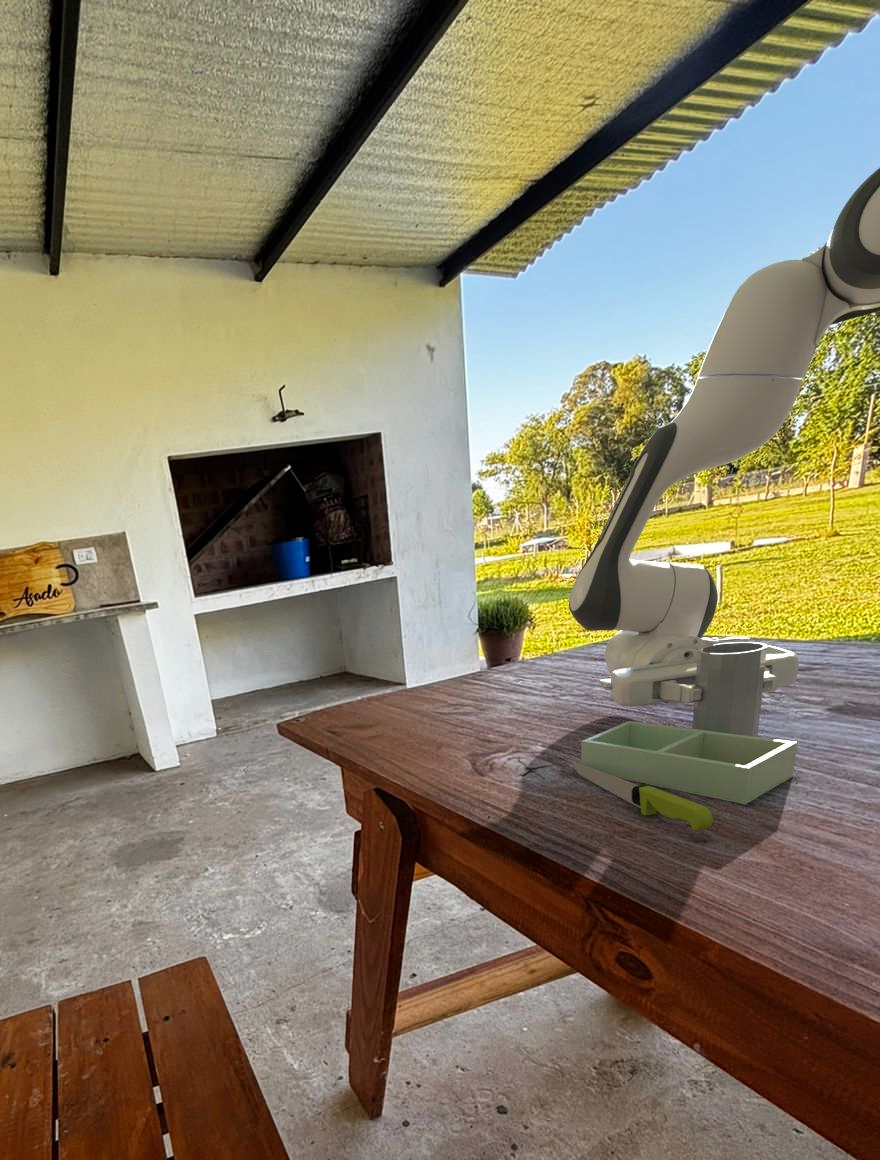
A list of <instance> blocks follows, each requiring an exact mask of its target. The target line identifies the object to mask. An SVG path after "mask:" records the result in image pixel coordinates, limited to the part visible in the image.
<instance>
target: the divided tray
mask: <svg viewBox="0 0 880 1160" xmlns="http://www.w3.org/2000/svg"><path fill="white" fill-rule="evenodd" d="M580 745H581V752H580V753H581V754H580V755H581V756H580V757H581V758H580V759H581V763H580V764H583V765H585V766H588V767H591V768H593V769H596V770H599V771H601V772H604V773H607V774H609V775H612V776H615V777H617V778H620V779H623V780H625V781H630V782H631V781H632V782H637V783H641V784H644V785H649V786H656V787H660V788H665V789H669V790H674V791H679V792H684V793H689V794H693V795H698V796H703V797H708V798H712V799H718V800H723V801H728V802H732V803H737V804H742V805H747V804H749V803H750V802H752V801H754V800H755V799H757V798H759V797H761V796H762V795H764V794H766V793H767V792H769V791H770V790H772V789H774V788H776V787H777V786H779V785H781V784H783V783H784V782H786V781H787V780H789V779H791V778H793V777H794V774H795V766H796V757H797V750H798V741H794V740H793V741H791V740H785V739H776V738H767V737H761V736H758V737H753V736H745V735H737V734H729V733H721V732H713V731H705V730H697V729H692V728H688V727H681V726H674V725H673V726H671V725H666V724H665V725H664V724H655V723H648V722H641V721H633V720H628V721H625V722H622V723H621V724H619V725H616V726H614V727H611V728H609V729H607V730H605V731H602V732H600V733H598V734H595V735H593V736H590V737H588V738H585V739H583V740H581V743H580Z"/></svg>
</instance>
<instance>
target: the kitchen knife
mask: <svg viewBox="0 0 880 1160" xmlns="http://www.w3.org/2000/svg"><path fill="white" fill-rule="evenodd" d="M570 762H571V764H572V766H573V768H574V770H575V771H576V772H577V774H578V775H579V776H581V777H583V778H585V779H586V780H587V781H590V782H591V783H593V784H595V785H597V786H599V787H600V788H602V789H605V790H606V791H607V792H609V793H611V794H613V795H615V796H617V797H619V798H621V799H622V800H624V801H626V802H628V803H630V804H631V805H633V806H635V807H637V808H639V809H640V814H642V815H643V816H652V815H656V814H657V812H658V813H659V814H661V815H662V816H664V817H666V818H668V819H671V820H682V821H686V822H687V823H689V825H690V827H691V830H692V831H695V832H698V831H703V830H707V829H710V828H711V827H712V825H713V822H714V818H713V814H712V812H711V810H710V809H709V808H708V807H707V806H705V805H702V804H699V803H698V802H694V801H691V800H688V799H686V798H683V797H680V796H678V795H675V794H673V793H670V792H667V791H664V790H662V789H659V788H657V787H653V786H652V785H648V784H641V785H640V784H639V785H638V784H636V783H634V782H631V781H629V780H626V779H621V778H617V777H615V776H612V775H609V774H607V773H604V772H601V771H599V770H596V769H593V768H591V767H588V766H585V765H583V764H581V763H580V762H578V761H575V760H571V761H570Z"/></svg>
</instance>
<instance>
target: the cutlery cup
mask: <svg viewBox="0 0 880 1160" xmlns="http://www.w3.org/2000/svg"><path fill="white" fill-rule="evenodd" d="M768 645H769V644H766V643H763V642H754V641H751V642H733V643H722V644H714V645H709V646H705V647H702V648H700V649H699V650H698V654H697V669H696V683H695V685H698V686H701V687H702V690H703V693H702V694H701V696H702V700H701V701H698V702H693V714H692V726H691V727H692V728H691V729H697V730H705V731H713V732H721V733H729V734H737V735H745V736H753V737H759V731H760V721H761V720H760V719H761V710H762V702H763V694H764V693H763V684H764V675H765V665H766V656H767V647H768Z"/></svg>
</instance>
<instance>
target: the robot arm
mask: <svg viewBox="0 0 880 1160" xmlns="http://www.w3.org/2000/svg"><path fill="white" fill-rule="evenodd" d="M879 311H880V167H878V168H877V169H876V170H875V171H874V172H872V174H870V175H869V176H868V177H867V178H866V179H865V180H864V181H863V182H862V183H861V184H860V185H859V187H858V188H857V189H856V190H855V191H854V192H853V194H852V195H851V196H850V197H849V199H848V200H847V202H846V203H845V205H844V206H843V207H842V209H841V211H840V212H839V215H838V216H837V219H836V222H835V223H834V226H833V228H832V229H831V233H830V235H829V237H828V240H827V241H826V242H825V243H824V244H823V246H821V247H820V248H819V249H818V250H817V251H815V252H814V253H812V254H810V255H808V256H805V257H802V259H787V260H786V259H785V260H781V261H778V262H775V263H772V264H770V265H767V266H764V267H763V268H760V269H758V270H757V271H755V272H754V273H752V274H751V275H750V276H748V277H747V278H746V279H745V280H744V281H743V282H742V283H741V284H740V285H739V286H738V288H737V289H736V291H735V293H734V294H733V297H732V298H731V300H730V302H729V304H728V306H727V308H726V309H725V311H724V313H723V315H722V317H721V320H720V322H719V324H718V326H717V328H716V331H715V333H714V335H713V337H712V340H711V341H710V344H709V347H708V349H707V351H706V354H705V356H704V359H703V361H702V364H701V367H700V370H699V373H698V375H697V379H696V381H695V384H694V386H693V389H692V391H691V393H690V395H689V397H688V399H687V400H686V402H685V404H684V405H683V407H682V408H681V409H680V410H679V412H678V414H677V415H676V416H675V417H674V418H673V419H672V420H671V421H670V422H669V423H667V424H666V425H664V426H661V427H659V428H658V429H656V430H655V431H654V432H653V434H651V436H650V438H649V439H648V441H647V442H646V443H645V445H644V446H643V448H642V450H641V451H640V453H639V455H638V457H637V459H636V460H635V463H634V465H633V466H632V469H631V471H630V473H629V475H628V477H627V478H626V481H625V483H624V485H623V487H622V489H621V491H620V493H619V494H618V496H617V499H616V501H615V503H614V505H613V507H612V510H611V512H610V514H609V516H608V518H607V520H606V522H605V525H604V526H603V528H602V530H601V533H600V535H599V536H598V540H597V541H596V543H595V545H594V546H593V549H592V550H591V552H590V555H589V556H588V558H587V559H586V561H585V562H584V564H583V565H582V567H581V569H580V570H579V573H578V574H577V576H576V578H575V580H574V583H573V585H572V588H571V591H570V594H569V600H568V610H569V612H570V615H572V617H573V619H574V620H575V621H576V622H577V623H578V624H579V625H580V626H581V627H582V628H584V630H586V631H587V632H588V631H594V632H595V631H600V632H601V631H618V632H617V633H615V634H614V635H612V637H611V638H610V640H609V641H608V642H607V644H606V646H605V650H604V662H605V665H606V667H607V669H608V671H609V672H610V675H609V676H607V677H606V678H605V679H604V678H602V679H600V680H599V683H598V685H599V687H600V688H602V689H604V690H609V691H610V697H611V698H612V699H613V701H614V702H615V703H616V704H618V705H620V706H622V707H641V706H645V705H646V706H647V705H654V704H661V703H664V704H669V705H670V704H671V705H677V704H684V703H686V704H691V703H694V702H698V701H701V700H702V696H701V694H702V693H703V690H702V687H701V686H698V685H695V683H696V669H697V654H698V650H699V649H700V648H702V647H705V646H709V645H714V644H722V643H733V642H752V638H751V637H748V636H722V637H703V636H704V635H705V633H706V632H707V630H708V628H709V627H710V625H711V623H712V621H713V618H714V616H715V613H716V610H717V607H718V606H717V605H718V599H719V595H718V593H719V592H718V588H717V585H716V583H715V579H714V577H713V575H712V573H711V572H710V570H709V569H707V568H706V567H705V566H704V565H702V564H693V563H683V562H670V561H668V562H663V561H662V562H661V561H649V560H639V559H638V560H637V559H631V558H630V557H631V554H632V552H633V550H634V548H635V546H636V544H637V543H638V540H639V539H640V537H641V535H642V533H643V531H644V529H645V527H646V525H647V523H648V521H649V519H650V517H651V515H652V513H653V512H654V509H655V507H656V505H657V503H658V502H659V500H660V499H661V497H662V496H663V495H664V494H665V492H667V490H668V489H670V488H671V487H672V486H673V485H675V484H676V483H678V482H680V481H681V480H684V479H685V478H687V477H690V476H692V475H695V474H698V473H701V472H704V471H708V470H710V469H715V468H717V467H722V466H724V465H727V464H731V463H733V462H735V461H738V460H740V459H742V458H745V457H746V456H748V455H750V454H752V453H753V452H755V451H757V450H758V449H760V448H761V447H763V446H764V445H765V444H766V443H767V442H769V441H770V440H771V439H772V438H773V437H774V436H775V435H776V434H777V433H778V432H779V430H780V429H782V426H783V425H784V423H785V421H786V420H787V418H788V416H789V414H790V413H791V411H792V409H793V406H794V404H795V402H796V400H797V397H798V395H799V393H800V389H801V387H802V385H803V381H804V380H805V377H806V375H807V372H808V369H809V367H810V365H811V362H812V360H813V357H814V355H815V353H816V350H817V349H818V346H819V344H820V342H821V340H822V339H823V337H824V335H825V333H826V332H827V330H828V329H829V327H830V326H833V325H835V324H839V323H842V322H845V321H846V322H847V321H848V320H853V319H855V318H856V319H857V318H859V317H864V316H867V315H871V314H874V313H877V312H879ZM767 645H768V647H767V656H766V665H765V675H764V684H763V693H762V694H765V693H772V692H776V691H777V688H779V687H786V686H792V685H793V684H795V682H796V680H797V678H798V673H799V665H800V659H799V656H798V654H797V653H795V652H793V651H790V650H787V649H784V648H782V647H781V648H780V647H777V646H774V645H769V644H767Z"/></svg>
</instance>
